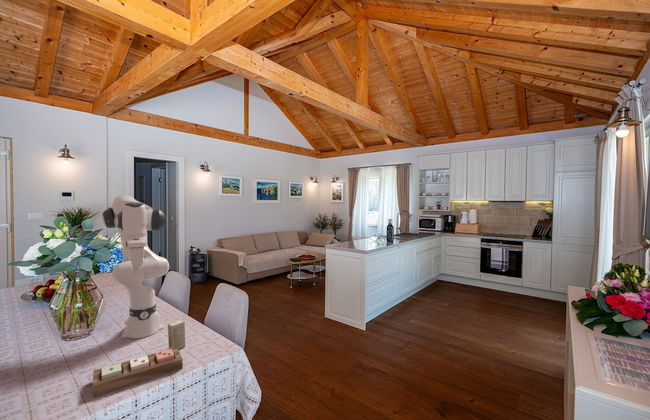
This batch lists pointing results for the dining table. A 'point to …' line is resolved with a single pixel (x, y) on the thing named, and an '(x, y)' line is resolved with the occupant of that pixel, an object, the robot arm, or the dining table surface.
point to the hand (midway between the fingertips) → (135, 273)
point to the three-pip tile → (164, 356)
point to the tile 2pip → (139, 363)
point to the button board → (135, 373)
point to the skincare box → (176, 334)
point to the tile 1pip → (111, 371)
